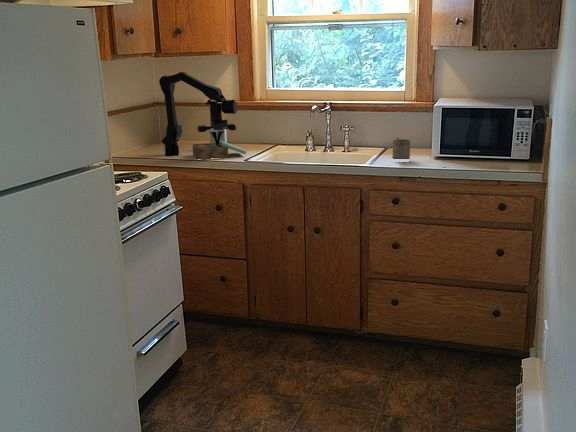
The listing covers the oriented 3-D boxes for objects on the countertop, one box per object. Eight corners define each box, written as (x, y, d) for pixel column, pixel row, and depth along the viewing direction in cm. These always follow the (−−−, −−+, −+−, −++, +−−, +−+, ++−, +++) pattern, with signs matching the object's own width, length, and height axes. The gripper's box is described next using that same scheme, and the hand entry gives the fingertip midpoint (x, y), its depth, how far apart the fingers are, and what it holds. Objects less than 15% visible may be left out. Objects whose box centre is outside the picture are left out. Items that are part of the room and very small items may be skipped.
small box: (227, 149, 337) (226, 129, 334) (225, 150, 331) (224, 130, 328) (212, 148, 337) (211, 129, 335) (210, 150, 332) (209, 130, 329)
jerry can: (394, 158, 304) (395, 133, 301) (414, 160, 300) (415, 134, 296) (384, 163, 292) (385, 138, 288) (404, 165, 287) (405, 139, 284)
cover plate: (221, 145, 308) (222, 142, 308) (216, 141, 320) (217, 139, 320) (245, 154, 313) (246, 151, 312) (239, 150, 325) (240, 147, 324)
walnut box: (198, 160, 305) (197, 149, 304) (193, 155, 320) (192, 144, 318) (228, 158, 309) (227, 147, 308) (222, 153, 324) (221, 142, 323)
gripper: (199, 116, 300) (201, 148, 304) (237, 114, 305) (238, 146, 309) (196, 113, 310) (197, 145, 314) (233, 112, 315) (234, 143, 319)
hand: (217, 145), depth 314 cm, fingers closed
